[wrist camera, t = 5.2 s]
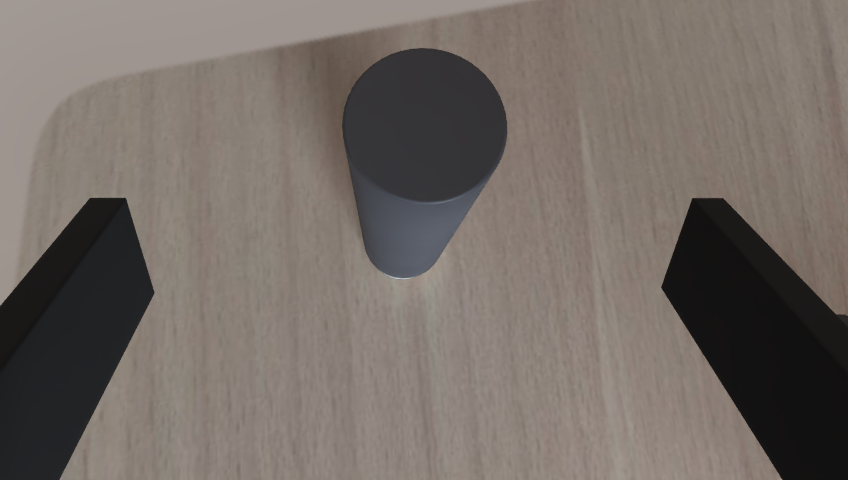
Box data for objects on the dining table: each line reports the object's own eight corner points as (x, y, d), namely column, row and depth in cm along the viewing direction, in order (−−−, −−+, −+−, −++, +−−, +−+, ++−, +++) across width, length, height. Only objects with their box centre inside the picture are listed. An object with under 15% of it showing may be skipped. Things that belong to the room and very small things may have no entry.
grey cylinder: (351, 260, 21) (311, 155, 9) (386, 196, 22) (389, 19, 10) (418, 295, 21) (463, 233, 9) (452, 229, 22) (534, 92, 10)
